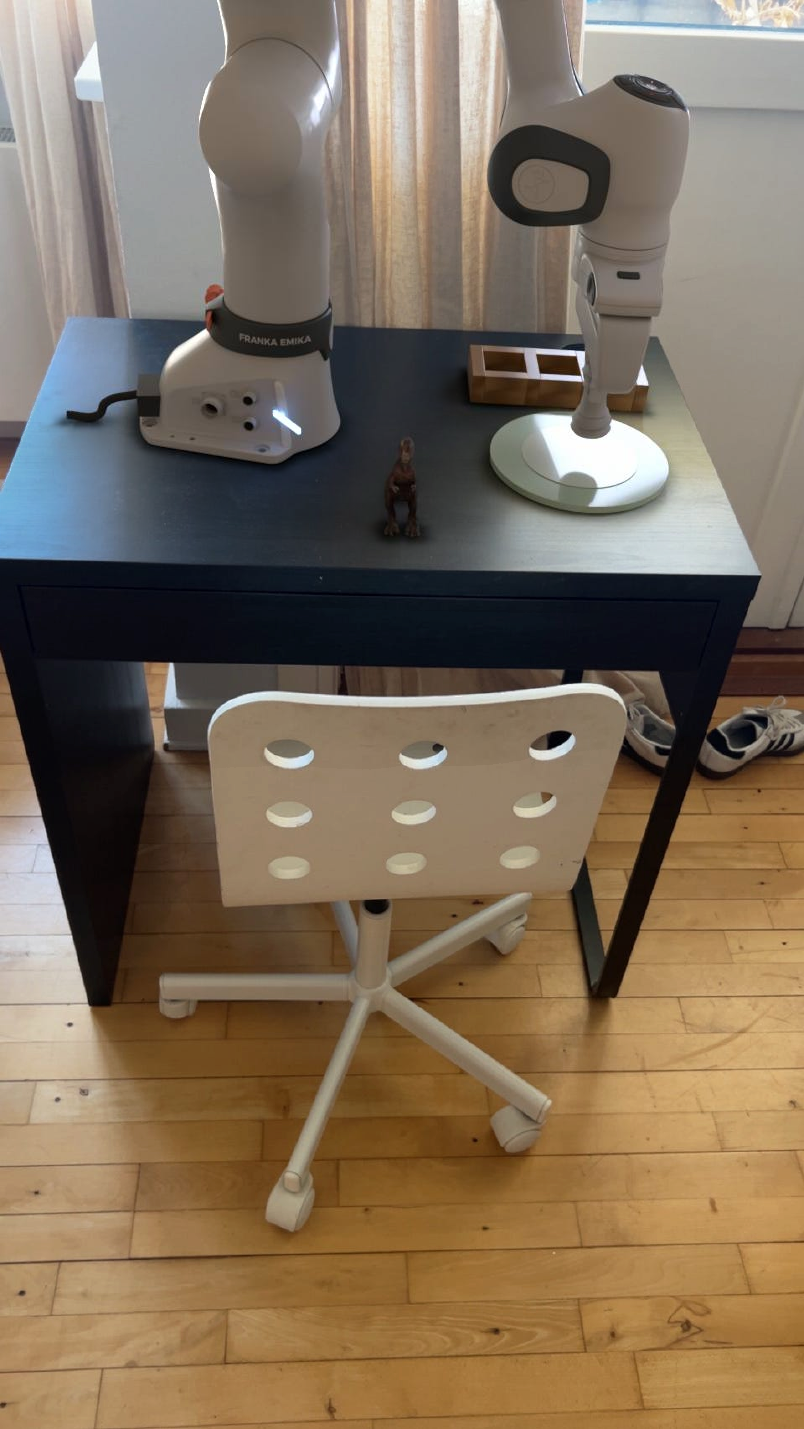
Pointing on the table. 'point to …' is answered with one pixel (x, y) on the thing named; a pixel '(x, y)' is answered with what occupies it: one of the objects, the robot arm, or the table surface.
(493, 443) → the plate
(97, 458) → the table surface
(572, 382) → the rack
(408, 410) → the table surface
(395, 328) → the table surface
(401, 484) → the dinosaur model
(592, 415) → the rook chess piece
